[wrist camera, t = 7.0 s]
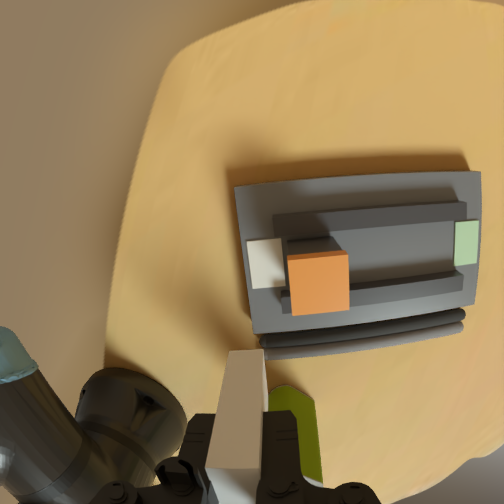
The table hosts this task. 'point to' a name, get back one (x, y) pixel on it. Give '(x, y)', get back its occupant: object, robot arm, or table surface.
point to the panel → (365, 243)
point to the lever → (318, 276)
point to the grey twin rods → (361, 336)
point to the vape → (301, 428)
